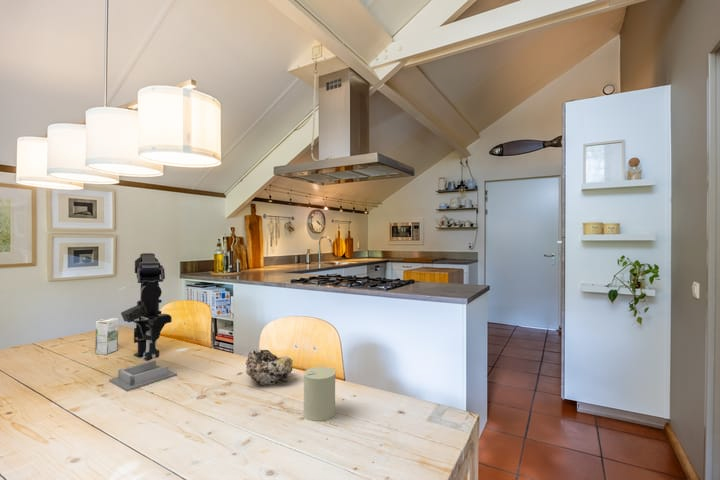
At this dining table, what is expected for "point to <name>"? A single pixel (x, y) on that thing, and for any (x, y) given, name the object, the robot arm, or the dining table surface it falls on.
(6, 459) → the dining table surface
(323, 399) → the can
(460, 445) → the dining table surface
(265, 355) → the mineral specimen
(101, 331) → the syrup box
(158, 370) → the dock
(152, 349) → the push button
